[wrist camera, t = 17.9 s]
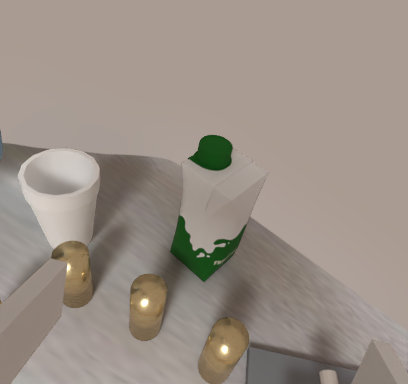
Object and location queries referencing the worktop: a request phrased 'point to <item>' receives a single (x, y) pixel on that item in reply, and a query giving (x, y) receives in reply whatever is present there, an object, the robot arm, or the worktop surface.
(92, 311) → the worktop surface
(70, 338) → the worktop surface
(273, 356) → the rubber mat
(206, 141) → the milk carton
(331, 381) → the pipe connector
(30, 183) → the foam cup
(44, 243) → the worktop surface
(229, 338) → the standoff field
